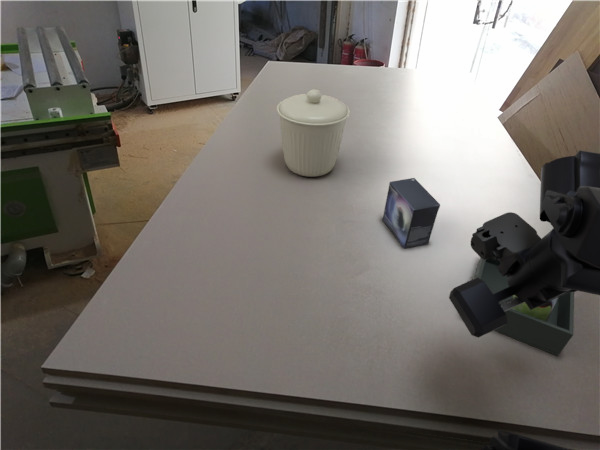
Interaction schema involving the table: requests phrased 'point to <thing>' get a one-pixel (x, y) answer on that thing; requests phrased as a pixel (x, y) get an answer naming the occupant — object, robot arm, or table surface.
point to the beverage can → (537, 310)
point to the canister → (311, 132)
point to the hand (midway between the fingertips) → (504, 301)
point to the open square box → (527, 327)
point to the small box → (410, 212)
